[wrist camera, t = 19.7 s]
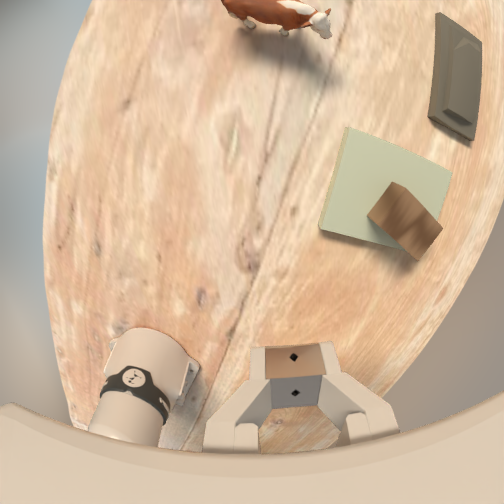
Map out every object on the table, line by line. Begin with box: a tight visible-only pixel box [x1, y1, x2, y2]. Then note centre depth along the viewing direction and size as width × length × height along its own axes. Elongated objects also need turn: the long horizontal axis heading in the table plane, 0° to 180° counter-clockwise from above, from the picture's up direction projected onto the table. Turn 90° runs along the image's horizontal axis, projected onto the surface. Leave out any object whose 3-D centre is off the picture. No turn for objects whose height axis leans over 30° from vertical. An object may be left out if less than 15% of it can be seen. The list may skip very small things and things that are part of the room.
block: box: [367, 182, 443, 261], centre depth 33 cm, size 6×4×9 cm
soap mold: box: [428, 13, 482, 141], centre depth 26 cm, size 10×20×4 cm, turn 169°
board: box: [318, 127, 452, 255], centre depth 35 cm, size 14×18×2 cm
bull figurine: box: [221, 0, 332, 39], centre depth 23 cm, size 4×13×8 cm, turn 68°
